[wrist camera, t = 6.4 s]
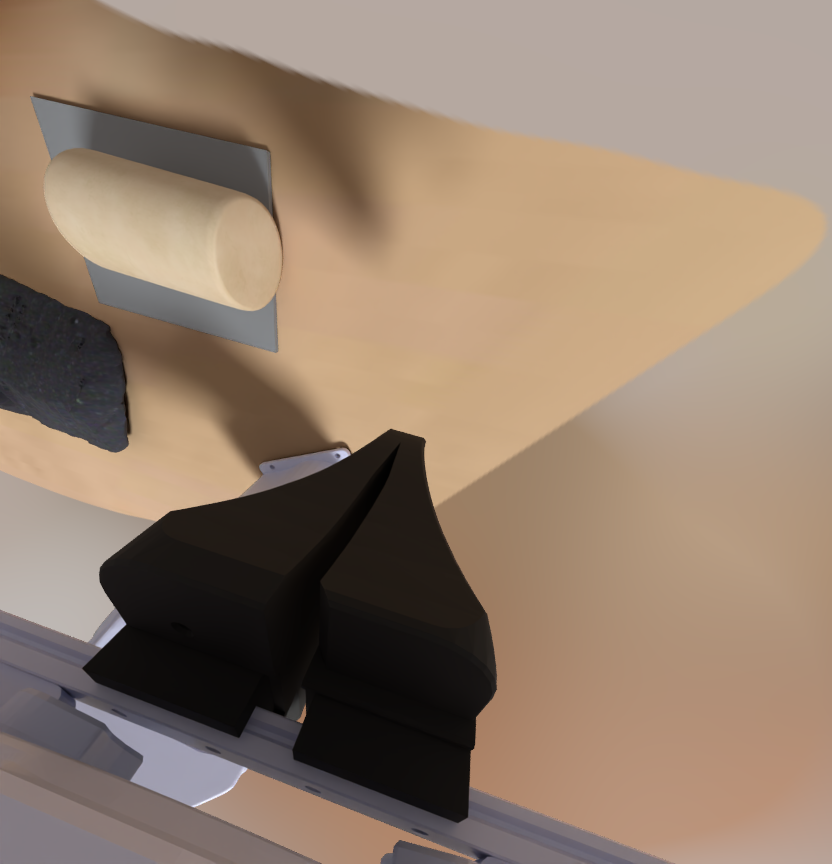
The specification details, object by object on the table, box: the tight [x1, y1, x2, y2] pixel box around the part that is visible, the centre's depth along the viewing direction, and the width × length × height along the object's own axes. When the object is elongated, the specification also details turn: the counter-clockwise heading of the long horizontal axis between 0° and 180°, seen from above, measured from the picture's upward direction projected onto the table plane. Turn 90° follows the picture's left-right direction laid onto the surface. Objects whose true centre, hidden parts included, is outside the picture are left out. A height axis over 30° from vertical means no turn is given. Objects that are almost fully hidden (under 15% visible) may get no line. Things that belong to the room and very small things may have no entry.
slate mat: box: [30, 96, 278, 353], centre depth 19 cm, size 14×11×1 cm
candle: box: [44, 148, 283, 311], centre depth 16 cm, size 6×6×10 cm
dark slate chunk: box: [0, 275, 129, 452], centre depth 26 cm, size 15×22×5 cm
